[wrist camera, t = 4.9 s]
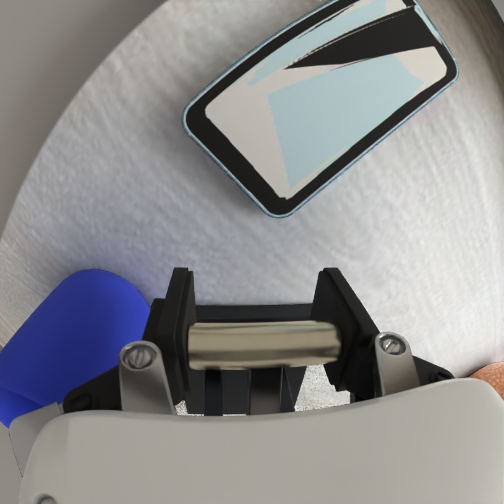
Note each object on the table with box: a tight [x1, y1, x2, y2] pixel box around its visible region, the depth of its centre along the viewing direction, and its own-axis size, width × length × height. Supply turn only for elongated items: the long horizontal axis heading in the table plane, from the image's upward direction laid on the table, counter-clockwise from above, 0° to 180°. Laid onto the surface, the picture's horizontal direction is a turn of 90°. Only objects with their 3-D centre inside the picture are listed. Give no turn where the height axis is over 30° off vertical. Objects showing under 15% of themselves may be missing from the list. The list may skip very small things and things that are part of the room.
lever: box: [186, 319, 343, 416], centre depth 9 cm, size 12×5×2 cm, turn 175°
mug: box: [0, 269, 150, 429], centre depth 12 cm, size 8×12×10 cm
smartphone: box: [182, 0, 459, 218], centre depth 11 cm, size 7×1×15 cm
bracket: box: [185, 304, 313, 416], centre depth 14 cm, size 11×9×13 cm
